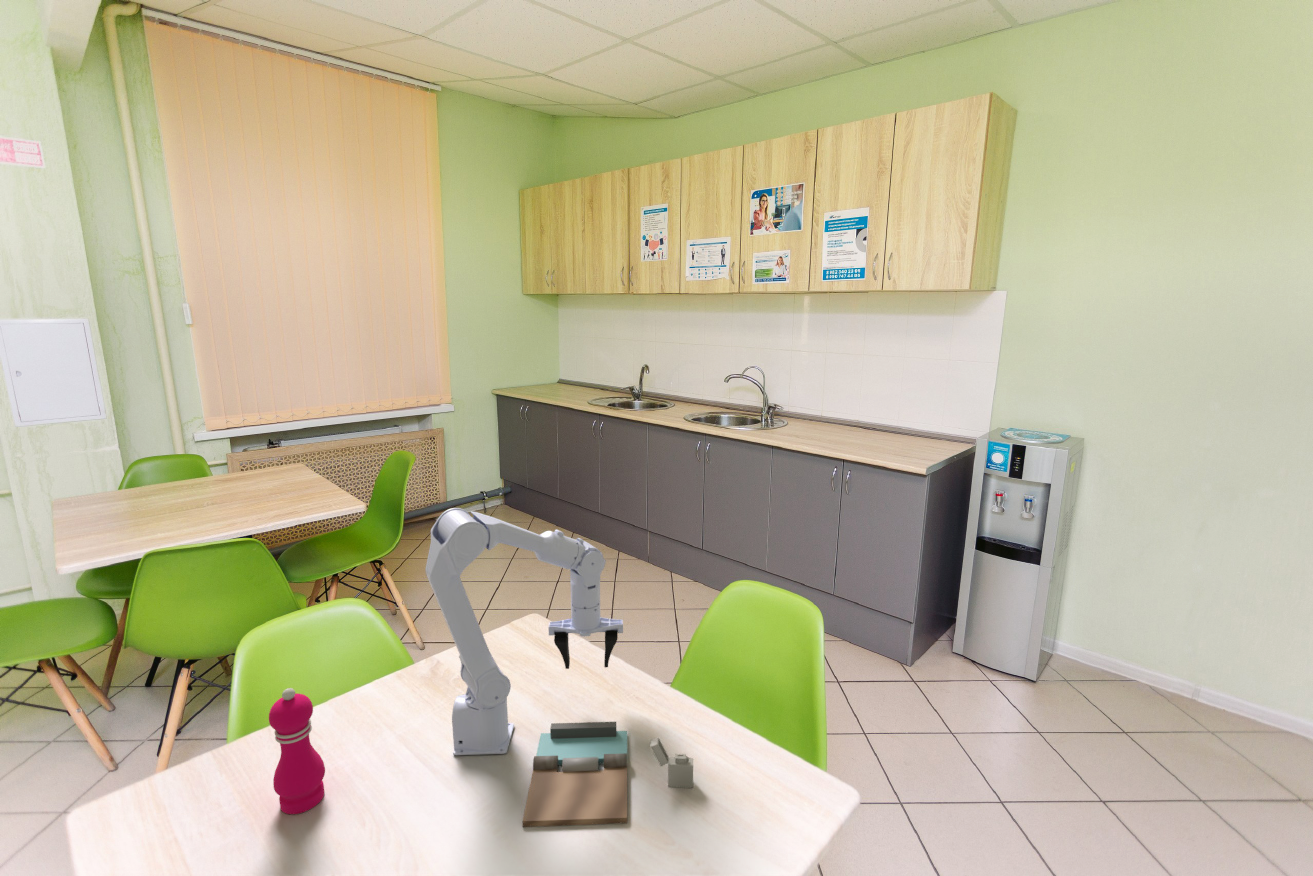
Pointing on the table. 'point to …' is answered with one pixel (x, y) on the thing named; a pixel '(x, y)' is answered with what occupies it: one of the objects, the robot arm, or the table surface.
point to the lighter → (674, 766)
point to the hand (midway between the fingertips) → (587, 665)
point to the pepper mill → (296, 754)
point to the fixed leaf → (577, 794)
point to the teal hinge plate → (582, 744)
